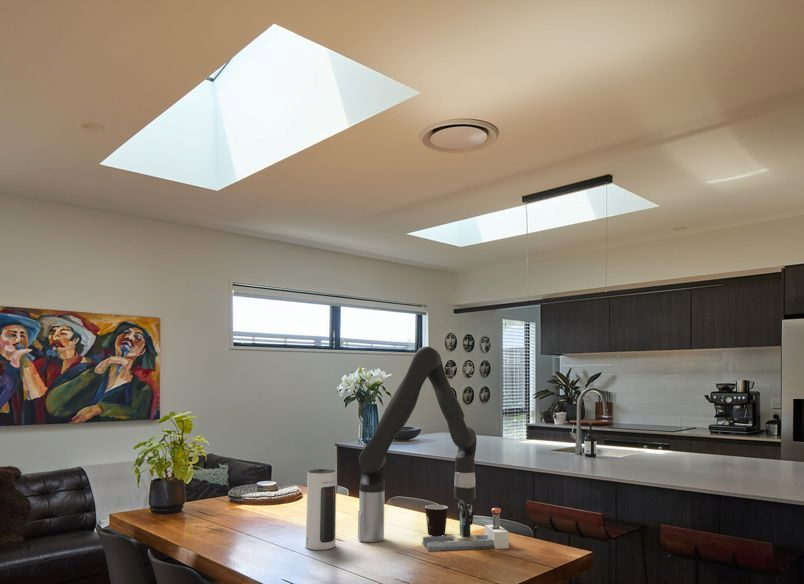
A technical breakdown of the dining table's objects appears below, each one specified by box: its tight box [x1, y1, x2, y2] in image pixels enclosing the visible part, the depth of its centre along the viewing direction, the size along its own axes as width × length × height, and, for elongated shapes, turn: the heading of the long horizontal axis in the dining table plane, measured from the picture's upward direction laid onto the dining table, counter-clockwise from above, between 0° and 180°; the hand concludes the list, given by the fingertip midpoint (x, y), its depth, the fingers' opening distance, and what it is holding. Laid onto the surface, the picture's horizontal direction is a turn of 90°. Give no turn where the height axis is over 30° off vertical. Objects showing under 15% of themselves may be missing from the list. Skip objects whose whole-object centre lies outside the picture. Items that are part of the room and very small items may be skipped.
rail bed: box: [421, 533, 495, 552], centre depth 218 cm, size 27×10×3 cm, turn 101°
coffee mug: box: [424, 504, 449, 536], centre depth 236 cm, size 12×9×10 cm
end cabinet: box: [484, 524, 510, 550], centre depth 220 cm, size 5×11×6 cm, turn 11°
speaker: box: [305, 468, 337, 551], centre depth 217 cm, size 11×10×26 cm
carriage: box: [453, 512, 477, 541], centre depth 219 cm, size 7×5×10 cm
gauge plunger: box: [491, 507, 501, 530], centre depth 221 cm, size 3×3×9 cm
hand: (465, 535), depth 218 cm, fingers closed on carriage, 3 cm apart
